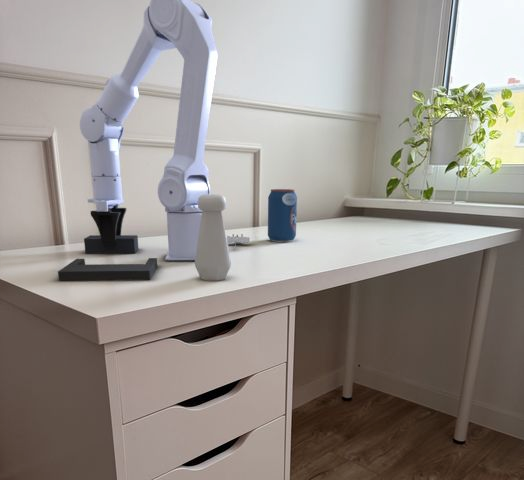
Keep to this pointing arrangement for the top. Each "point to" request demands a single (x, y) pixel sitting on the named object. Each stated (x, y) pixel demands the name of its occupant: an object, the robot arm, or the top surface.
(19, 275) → the top surface
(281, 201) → the soda can
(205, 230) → the salt shaker
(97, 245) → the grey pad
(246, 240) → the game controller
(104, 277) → the black pad
